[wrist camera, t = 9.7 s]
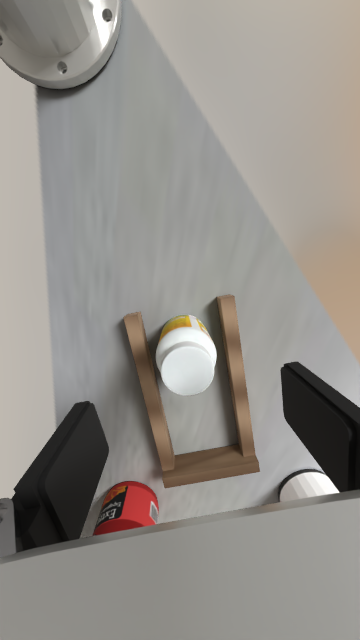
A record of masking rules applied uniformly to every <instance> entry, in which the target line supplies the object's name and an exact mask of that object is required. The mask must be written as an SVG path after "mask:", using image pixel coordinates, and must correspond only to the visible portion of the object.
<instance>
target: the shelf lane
mask: <svg viewBox="0 0 360 640" xmlns="http://www.w3.org/2000/svg"><path fill="white" fill-rule="evenodd" d="M217 303H218V310H219V316H220V323H221V330H222V336H223V343H224V349H225V356H226V362H227V369H228V376H229V382H230V389H231V395H232V402H233V409H234V415H235V422H236V428H237V435H238V442H239V444H237V445H231V446H226V447H220V448H214V449H209V450H203V451H197V452H192V453H186V454H180V455H175V456H174V452H173V448H172V443H171V439H170V435H169V431H168V426H167V422H166V418H165V414H164V409H163V405H162V401H161V397H160V393H159V388H158V384H157V380H156V376H155V371H154V367H153V363H152V359H151V354H150V350H149V346H148V342H147V338H146V333H145V329H144V325H143V321H142V316H141V312H136V313H131V314H127V315H126V316H125V317H123V318H124V322H125V326H126V329H127V333H128V337H129V341H130V345H131V349H132V353H133V357H134V361H135V365H136V368H137V372H138V376H139V380H140V384H141V388H142V392H143V396H144V400H145V404H146V407H147V411H148V415H149V419H150V423H151V427H152V431H153V435H154V439H155V443H156V447H157V450H158V454H159V458H160V462H161V466H162V470H163V476H162V480H163V483H164V487H165V488H170V487H175V486H181V485H187V484H193V483H198V482H204V481H210V480H215V479H221V478H227V477H233V476H238V475H244V474H250V473H256V472H260V469H259V462H258V460H257V457H256V455H255V448H254V441H253V433H252V426H251V418H250V411H249V403H248V396H247V388H246V381H245V373H244V365H243V358H242V350H241V343H240V335H239V328H238V320H237V313H236V305H235V298H234V296H232V295H224V296H219V297H217Z"/></svg>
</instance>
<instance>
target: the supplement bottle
mask: <svg viewBox="0 0 360 640" xmlns="http://www.w3.org/2000/svg"><path fill="white" fill-rule="evenodd" d="M216 359H217V353H216V348H215V345H214V343H213V341H212V339H211V337H210V335H209V334H208V332H207V330H206V328H205V326H204V325H203V323H202V322H201V321H200V320H199V319H198V318H196V317H194V316H191V315H186V314H182V315H178V316H175V317H173V318H171V319H170V320H169V321H168V322H167V323H166V324H165V325H164V327H163V330H162V333H161V336H160V340H159V343H158V347H157V350H156V363H157V366H158V369H159V371H160V372H161V377H162V380H163V382H164V384H165V385H166V387H167V388H168V389H169V390H170V391H172V392H174V393H175V394H178V395H182V396H192V395H196V394H199V393H201V392H202V391H204V390H205V389H206V388H207V387H208V386H209V385H210V383H211V382H212V379H213V376H214V367H215V364H216Z"/></svg>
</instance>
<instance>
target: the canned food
mask: <svg viewBox="0 0 360 640" xmlns="http://www.w3.org/2000/svg"><path fill="white" fill-rule="evenodd" d="M158 511H159V507H158V501H157V497H156V495H155V493H154V492H153V490H151V489H150V488H149V487H148V486H146V485H144V484H142V483H139V482H134V481H127V482H122V483H119V484H117V485H115V486H114V487H113V488H112V489H111V490H110V491H109V493H108V494H107V496H106V498H105V499H104V502H103V506H102V509H101V512H100V515H99V518H98V521H97V524H96V527H95V530H94V533H93V536H97V535H102V534H107V533H113V532H118V531H123V530H129V529H134V528H139V527H145V526H150V525H156V524H158Z"/></svg>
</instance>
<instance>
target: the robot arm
mask: <svg viewBox="0 0 360 640" xmlns="http://www.w3.org/2000/svg"><path fill="white" fill-rule="evenodd" d="M121 15H122V0H0V58H1V59H2V60H3V61H4V62H5V63H6V65H7V66H8V67H9V68H10V69H12V70H13V71H15V73H17V74H18V75H19V76H20V77H22V78H24V79H26V80H27V81H30V82H31V83H33V84H36V85H39V86H42V87H45V88H52V89H65V88H71V87H75V86H77V85H80V84H82V83H85V82H86V81H88V80H89V79H90V78H92V77H93V76H95V75H96V74H97V73H98V72H99V71H100V70H101V68H102V67H103V66H104V65H105V64H106V62H107V60H108V59H109V57H110V55H111V54H112V52H113V50H114V47H115V44H116V41H117V39H118V35H119V30H120V24H121ZM281 382H282V397H283V411H284V417H285V419H286V421H287V423H288V424H289V425H290V427H291V428H292V429H293V431H294V432H295V433H296V435H297V436H298V437H299V439H300V440H301V441H302V443H303V444H304V445H305V447H306V448H307V449H308V451H309V452H310V453H311V455H312V456H313V458H314V459H315V460H316V462H317V463H318V464H319V466H320V467H321V468H322V470H323V471H324V472H325V474H326V475H327V476H328V478H329V479H330V480H331V482H332V483H333V484H334V486H335V487H336V488H337V490H338V491H339V492H340V493H333V494H327V495H320V496H314V497H308V498H302V499H296V500H291V501H285V502H279V503H273V504H268V505H262V506H256V507H250V508H244V509H239V510H233V511H228V512H222V513H216V514H211V515H205V516H200V517H194V518H189V519H183V520H178V521H172V522H167V523H161V524H156V525H150V526H145V527H139V528H134V529H129V530H123V531H118V532H113V533H107V534H102V535H97V536H91V537H86V538H81V539H79V538H80V535H81V532H82V529H83V526H84V523H85V520H86V518H87V515H88V512H89V509H90V506H91V503H92V500H93V497H94V494H95V492H96V489H97V486H98V483H99V480H100V477H101V474H102V471H103V468H104V466H105V463H106V460H107V457H108V453H109V447H108V444H107V441H106V438H105V435H104V432H103V429H102V426H101V423H100V420H99V418H98V415H97V412H96V409H95V406H94V404H93V403H90V402H89V401H85V402H79V403H76V404H75V405H74V406H73V407H72V409H71V410H70V412H69V413H68V414H67V416H66V417H65V418H64V420H63V421H62V423H61V424H60V425H59V427H58V428H57V430H56V431H55V432H54V434H53V435H52V437H51V438H50V439H49V441H48V442H47V443H46V445H45V446H44V448H43V449H42V451H41V452H40V453H39V455H38V456H37V457H36V459H35V460H34V461H33V463H32V464H31V466H30V467H29V469H28V470H27V471H26V473H25V474H24V475H23V477H22V478H21V479H20V481H19V482H18V484H17V485H16V487H15V488H14V491H15V494H14V496H13V497H12V499H9V498H2V499H0V640H360V408H359V407H358V406H357V405H355V404H354V403H353V402H351V401H350V400H349V399H347V398H346V397H345V396H343V395H342V394H340V393H339V392H338V391H336V390H335V389H334V388H332V387H331V386H330V385H328V384H327V383H326V382H324V381H323V380H322V379H320V378H319V377H318V376H316V375H315V374H314V373H312V372H311V371H310V370H308V369H307V368H306V367H304V366H303V365H301V364H300V363H299V362H291V363H286V364H284V367H282V368H281Z"/></svg>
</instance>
